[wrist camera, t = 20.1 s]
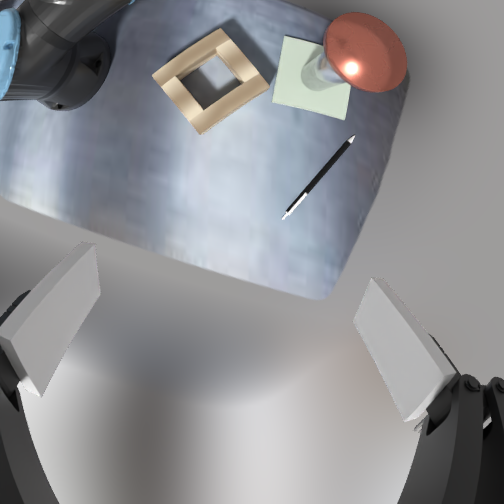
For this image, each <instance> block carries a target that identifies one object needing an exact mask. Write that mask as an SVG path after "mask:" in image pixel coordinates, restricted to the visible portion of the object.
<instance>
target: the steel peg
mask: <svg viewBox="0 0 504 504" xmlns="http://www.w3.org/2000/svg"><path fill="white" fill-rule="evenodd" d="M323 47H324V52H322V53H321V54H320V55H318V56H317V57H316V58H314V59H313V60H312V61H310V62H309V63H308V64H307V65H305V66H304V67H303V68H302V70H301V74H300V75H301V80H302V82H303V84H304V85H305V86H306V87H307V88H308V89H310V90H313V91H323V90H326V89H328V88H331V87H334V86H337V85H340V84H343V83H348V84H349V85H351V86H353V87H354V88H357V89H359V90H362V91H366V92H382V91H388V90H391V89H393V88H395V87H396V86H398V85H399V84H400V83H401V81H402V80H403V78H404V76H405V74H406V69H407V58H406V53H405V50H404V47H403V45H402V43H401V41H400V39H399V38H398V36H397V35H396V34H395V33H394V31H393V30H392V29H391V28H390V27H389V26H387V25H386V24H385V23H384V22H382V21H381V20H379V19H377V18H376V17H374V16H371V15H368V14H364V13H359V12H352V13H346V14H343V15H341V16H339V17H338V18H336V19H335V20H334V21H333V22H332V23H331V24H330V25H329V26H328V27H327V29H326V31H325V34H324V38H323Z"/></svg>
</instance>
